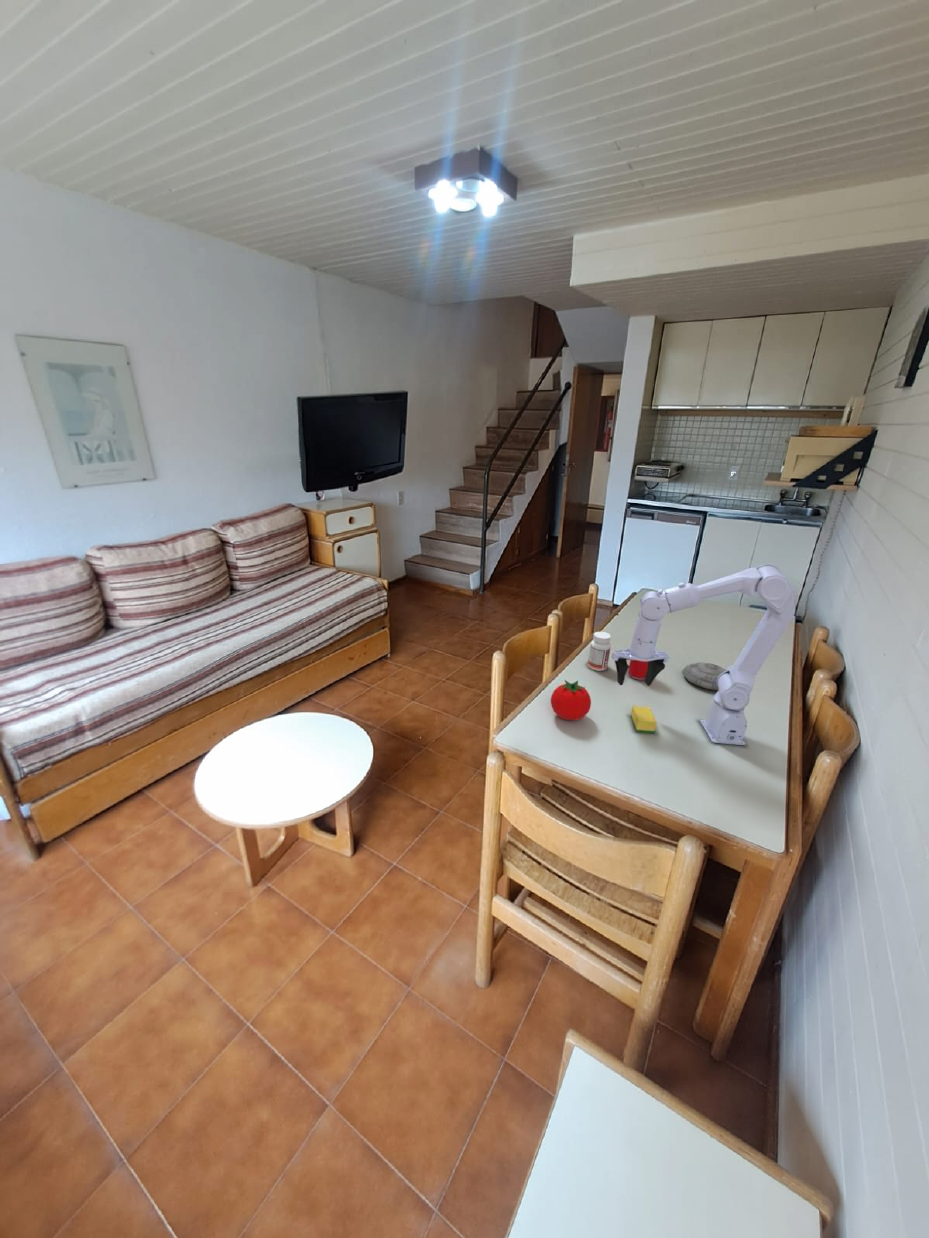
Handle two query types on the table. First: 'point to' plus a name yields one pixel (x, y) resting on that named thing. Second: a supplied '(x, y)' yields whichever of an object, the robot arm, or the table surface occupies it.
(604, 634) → the pill bottle
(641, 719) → the sponge
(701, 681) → the flying saucer
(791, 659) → the table surface
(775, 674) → the table surface
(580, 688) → the tomato
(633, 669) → the beverage can
